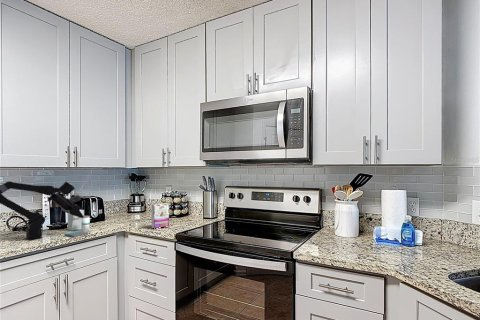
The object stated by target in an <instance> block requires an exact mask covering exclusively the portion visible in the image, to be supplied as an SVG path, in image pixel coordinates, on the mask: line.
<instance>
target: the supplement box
mask: <svg viewBox="0 0 480 320" xmlns="http://www.w3.org/2000/svg"><path fill="white" fill-rule="evenodd" d="M80 212H81V213H82V215H83V216H85V209H80ZM81 223H82V218H80V217H77V216H74V215H71V214H69V213H67V230H69V231H71V232H74V231H79V230H81Z"/></svg>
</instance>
